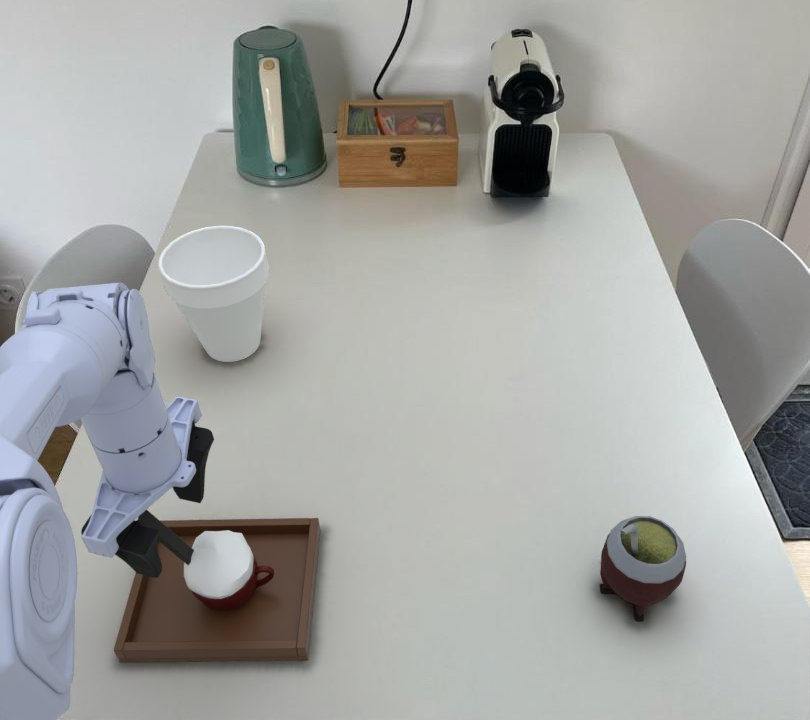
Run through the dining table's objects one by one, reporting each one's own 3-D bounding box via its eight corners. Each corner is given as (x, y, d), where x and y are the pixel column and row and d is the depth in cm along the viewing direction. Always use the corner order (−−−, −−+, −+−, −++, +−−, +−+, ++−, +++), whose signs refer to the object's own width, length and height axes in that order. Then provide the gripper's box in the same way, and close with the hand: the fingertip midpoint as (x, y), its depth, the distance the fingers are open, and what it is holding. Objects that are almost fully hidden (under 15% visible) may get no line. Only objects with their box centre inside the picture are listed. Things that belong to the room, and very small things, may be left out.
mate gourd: (666, 559, 77) (699, 455, 67) (681, 636, 71) (721, 536, 61) (586, 556, 77) (607, 453, 67) (595, 633, 72) (620, 533, 61)
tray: (119, 662, 71) (113, 650, 70) (155, 532, 81) (150, 520, 80) (308, 660, 71) (305, 648, 69) (320, 530, 81) (318, 517, 79)
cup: (205, 308, 107) (183, 220, 98) (294, 317, 105) (279, 229, 96) (167, 371, 99) (138, 281, 89) (263, 383, 96) (244, 292, 87)
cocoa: (285, 578, 76) (266, 499, 68) (250, 636, 72) (225, 559, 64) (200, 546, 79) (172, 467, 71) (162, 600, 75) (128, 522, 67)
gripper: (126, 513, 53) (173, 620, 62) (220, 366, 63) (249, 477, 73) (33, 492, 55) (93, 600, 64) (140, 352, 65) (178, 462, 74)
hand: (171, 533), depth 68 cm, fingers open, 7 cm apart
